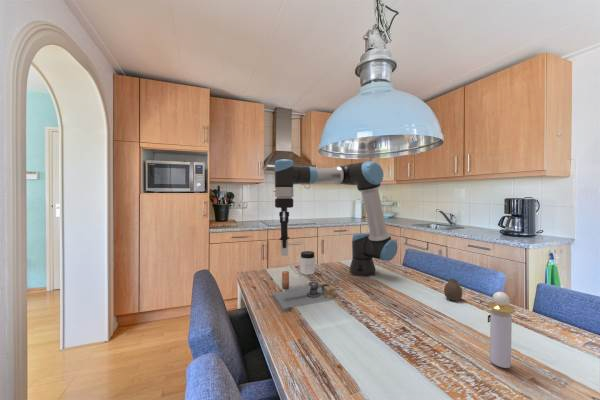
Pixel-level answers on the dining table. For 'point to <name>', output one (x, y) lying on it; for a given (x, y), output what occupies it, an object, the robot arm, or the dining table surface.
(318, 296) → the base
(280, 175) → the robot arm
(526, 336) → the dining table surface
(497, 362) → the perfume bottle
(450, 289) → the brown egg shape
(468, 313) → the dining table surface
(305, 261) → the jar
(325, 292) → the block
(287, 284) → the lever
